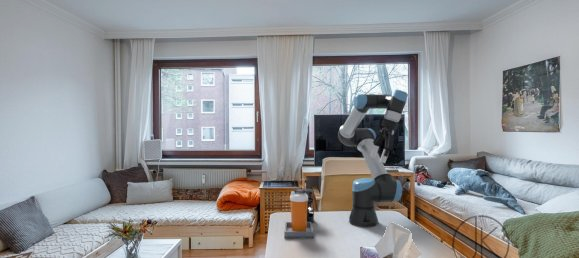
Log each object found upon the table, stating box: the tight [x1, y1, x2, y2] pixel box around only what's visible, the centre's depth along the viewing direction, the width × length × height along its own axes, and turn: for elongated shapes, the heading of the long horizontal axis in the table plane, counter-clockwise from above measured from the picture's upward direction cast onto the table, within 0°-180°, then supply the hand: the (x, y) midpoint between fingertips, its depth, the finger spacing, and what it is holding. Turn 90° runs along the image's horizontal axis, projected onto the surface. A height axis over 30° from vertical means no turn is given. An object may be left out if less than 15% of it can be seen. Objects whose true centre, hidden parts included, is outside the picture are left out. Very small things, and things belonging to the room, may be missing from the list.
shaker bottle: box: [289, 189, 309, 231], centre depth 146 cm, size 9×9×20 cm
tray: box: [284, 221, 314, 239], centre depth 146 cm, size 14×14×3 cm
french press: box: [296, 178, 315, 224], centre depth 163 cm, size 12×9×23 cm
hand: (377, 159), depth 152 cm, fingers open, 13 cm apart
